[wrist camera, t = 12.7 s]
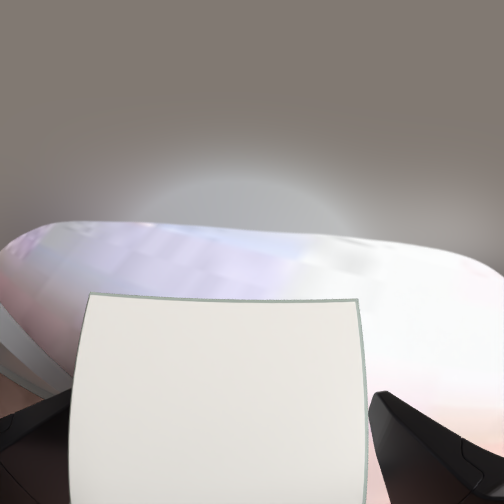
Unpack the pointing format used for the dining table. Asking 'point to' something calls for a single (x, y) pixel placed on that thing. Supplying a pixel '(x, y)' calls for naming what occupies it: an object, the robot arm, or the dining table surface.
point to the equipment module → (218, 402)
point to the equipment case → (28, 361)
